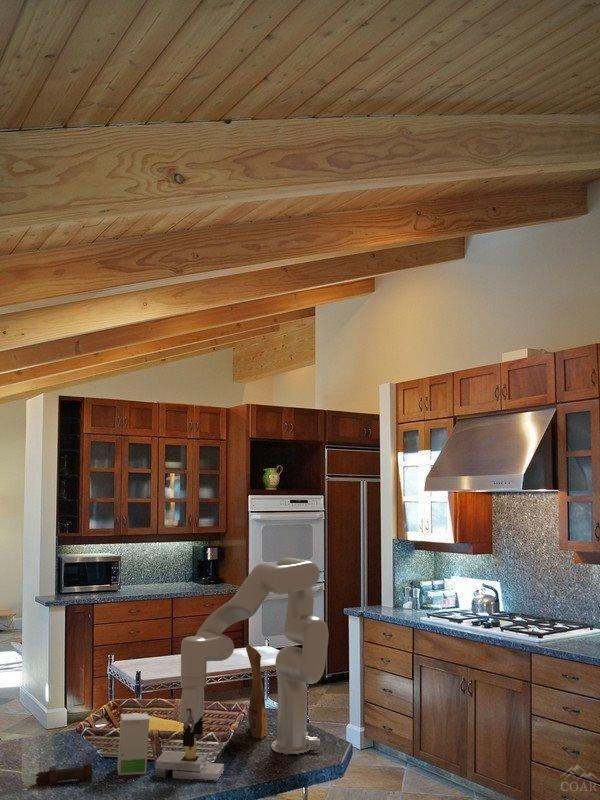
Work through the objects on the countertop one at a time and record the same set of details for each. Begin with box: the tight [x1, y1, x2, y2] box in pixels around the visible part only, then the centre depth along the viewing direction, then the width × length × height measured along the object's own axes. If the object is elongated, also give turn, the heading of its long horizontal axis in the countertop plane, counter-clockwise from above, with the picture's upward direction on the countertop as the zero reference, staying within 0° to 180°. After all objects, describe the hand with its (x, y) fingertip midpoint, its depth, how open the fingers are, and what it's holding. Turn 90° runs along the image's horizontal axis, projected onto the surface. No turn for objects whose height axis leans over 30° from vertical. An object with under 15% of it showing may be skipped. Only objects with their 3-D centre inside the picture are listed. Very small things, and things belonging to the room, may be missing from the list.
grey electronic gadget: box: [154, 751, 225, 782], centre depth 235 cm, size 18×8×4 cm, turn 83°
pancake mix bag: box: [245, 643, 268, 740], centre depth 275 cm, size 7×19×28 cm, turn 9°
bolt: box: [35, 760, 93, 786], centre depth 226 cm, size 6×5×15 cm
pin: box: [184, 736, 197, 762], centre depth 235 cm, size 3×3×10 cm
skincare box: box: [116, 712, 150, 776], centre depth 236 cm, size 8×7×16 cm
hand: (192, 740), depth 236 cm, fingers open, 9 cm apart
